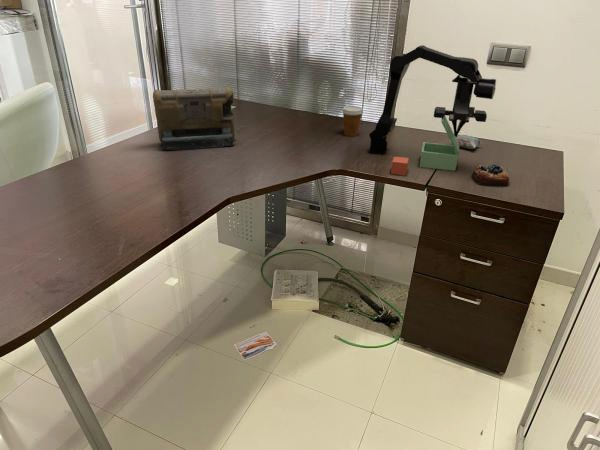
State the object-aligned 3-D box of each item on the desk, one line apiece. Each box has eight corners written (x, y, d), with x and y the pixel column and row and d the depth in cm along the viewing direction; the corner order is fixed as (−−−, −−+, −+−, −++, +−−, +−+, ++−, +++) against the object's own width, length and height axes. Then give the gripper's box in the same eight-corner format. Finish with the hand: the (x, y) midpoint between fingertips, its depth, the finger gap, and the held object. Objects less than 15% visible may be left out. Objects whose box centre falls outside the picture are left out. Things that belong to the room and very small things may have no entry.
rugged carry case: (232, 136, 208) (229, 80, 196) (238, 146, 197) (235, 87, 184) (159, 143, 199) (150, 85, 187) (161, 154, 188) (152, 92, 175)
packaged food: (473, 153, 192) (476, 141, 190) (447, 146, 199) (449, 135, 196) (481, 148, 198) (484, 137, 196) (456, 142, 205) (458, 131, 202)
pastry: (469, 173, 173) (472, 159, 170) (500, 174, 173) (504, 159, 170) (477, 185, 163) (481, 170, 160) (511, 186, 163) (515, 171, 160)
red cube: (390, 173, 172) (392, 161, 169) (392, 168, 177) (393, 156, 174) (405, 175, 171) (407, 163, 168) (407, 170, 175) (408, 158, 173)
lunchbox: (419, 166, 178) (421, 151, 175) (420, 156, 188) (423, 142, 185) (455, 170, 175) (458, 155, 172) (455, 160, 185) (457, 145, 182)
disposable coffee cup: (364, 133, 214) (366, 107, 208) (355, 138, 207) (357, 112, 201) (346, 129, 219) (348, 104, 213) (337, 134, 211) (338, 109, 206)
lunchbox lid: (441, 121, 168) (443, 120, 167) (441, 113, 178) (443, 112, 177) (457, 154, 172) (459, 153, 172) (457, 144, 182) (459, 144, 181)
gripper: (436, 98, 162) (429, 140, 170) (491, 103, 158) (482, 145, 166) (437, 91, 172) (430, 131, 179) (489, 95, 167) (480, 136, 175)
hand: (455, 136), depth 175 cm, fingers closed
